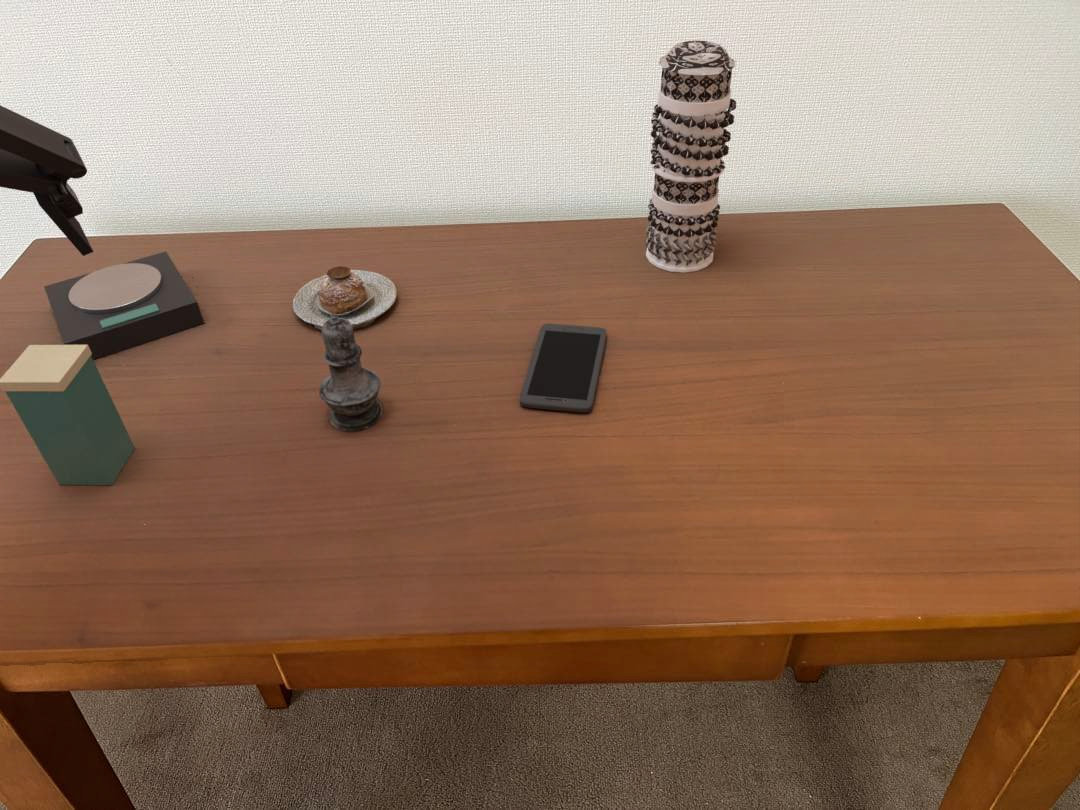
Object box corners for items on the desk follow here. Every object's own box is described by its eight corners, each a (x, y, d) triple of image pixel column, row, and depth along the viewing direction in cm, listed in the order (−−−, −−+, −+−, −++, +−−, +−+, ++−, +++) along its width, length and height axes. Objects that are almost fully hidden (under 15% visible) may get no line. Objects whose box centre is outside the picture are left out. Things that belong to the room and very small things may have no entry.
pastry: (276, 303, 97) (267, 270, 94) (363, 267, 103) (357, 234, 100) (327, 347, 90) (318, 312, 87) (417, 305, 96) (412, 271, 93)
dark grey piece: (333, 440, 78) (306, 338, 71) (320, 404, 82) (294, 304, 75) (393, 423, 80) (373, 321, 72) (377, 388, 84) (357, 289, 76)
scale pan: (79, 324, 89) (76, 319, 89) (63, 284, 96) (61, 280, 96) (172, 295, 93) (170, 290, 93) (151, 258, 100) (149, 254, 100)
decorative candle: (722, 273, 99) (751, 60, 83) (646, 275, 100) (660, 62, 83) (711, 236, 106) (735, 33, 90) (639, 238, 107) (651, 35, 90)
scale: (75, 366, 89) (63, 342, 87) (54, 307, 98) (43, 284, 96) (204, 323, 94) (196, 299, 92) (173, 271, 103) (165, 249, 101)
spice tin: (113, 486, 74) (59, 382, 67) (57, 485, 75) (-3, 382, 67) (136, 447, 78) (87, 344, 71) (83, 446, 79) (29, 344, 71)
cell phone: (607, 332, 90) (607, 327, 90) (591, 414, 80) (591, 408, 79) (542, 327, 91) (541, 322, 91) (517, 407, 81) (517, 401, 81)
